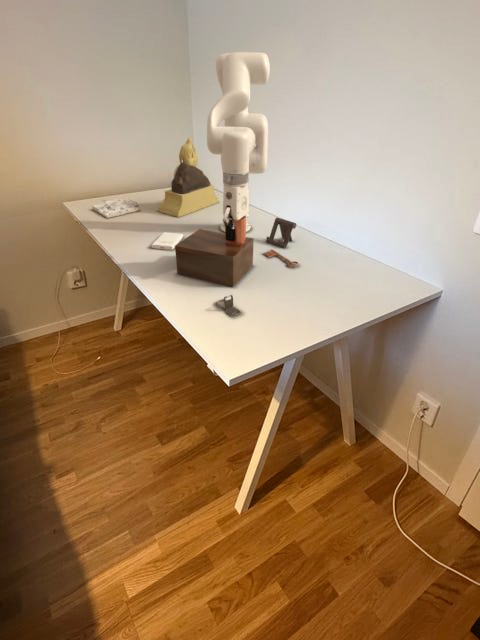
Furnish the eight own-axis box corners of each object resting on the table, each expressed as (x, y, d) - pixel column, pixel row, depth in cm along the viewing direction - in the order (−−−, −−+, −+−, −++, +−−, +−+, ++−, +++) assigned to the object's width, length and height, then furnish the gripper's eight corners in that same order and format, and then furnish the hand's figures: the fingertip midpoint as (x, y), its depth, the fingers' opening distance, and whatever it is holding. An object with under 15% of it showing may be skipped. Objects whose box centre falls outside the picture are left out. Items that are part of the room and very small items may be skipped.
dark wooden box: (200, 255, 137) (199, 228, 131) (252, 266, 130) (253, 238, 125) (177, 274, 125) (174, 245, 119) (233, 287, 118) (233, 257, 113)
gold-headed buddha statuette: (198, 197, 196) (195, 132, 179) (218, 202, 190) (216, 135, 173) (158, 211, 177) (150, 140, 160) (178, 217, 171) (172, 143, 154)
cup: (230, 235, 126) (230, 211, 122) (248, 239, 124) (249, 214, 120) (221, 242, 121) (221, 218, 117) (240, 246, 119) (241, 221, 115)
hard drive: (183, 237, 151) (172, 250, 141) (163, 236, 152) (151, 248, 142) (183, 233, 150) (172, 246, 140) (163, 232, 151) (151, 244, 141)
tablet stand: (265, 242, 148) (266, 221, 143) (278, 236, 153) (279, 216, 148) (283, 248, 143) (285, 226, 138) (296, 242, 148) (298, 221, 143)
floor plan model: (120, 197, 194) (119, 193, 193) (145, 209, 178) (144, 205, 177) (84, 204, 184) (83, 200, 183) (107, 218, 168) (106, 213, 167)
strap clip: (215, 304, 110) (214, 291, 107) (224, 300, 111) (223, 288, 109) (232, 317, 104) (232, 304, 102) (241, 313, 106) (241, 300, 103)
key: (262, 254, 139) (286, 270, 128) (262, 251, 139) (286, 267, 128) (276, 249, 141) (300, 265, 130) (276, 247, 141) (300, 263, 130)
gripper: (235, 186, 104) (234, 248, 114) (258, 173, 117) (256, 229, 127) (210, 183, 107) (212, 244, 117) (236, 170, 120) (235, 226, 130)
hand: (235, 236), depth 122 cm, fingers closed on cup, 6 cm apart
